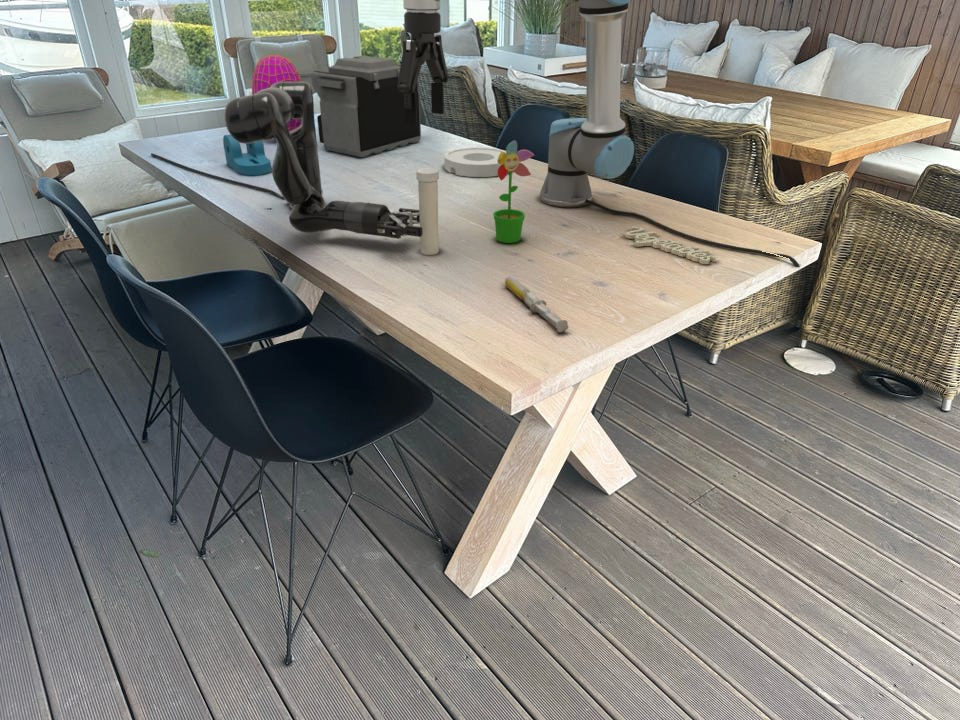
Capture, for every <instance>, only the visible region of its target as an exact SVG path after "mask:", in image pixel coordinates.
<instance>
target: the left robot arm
mask: <svg viewBox="0 0 960 720" xmlns="http://www.w3.org/2000/svg"><path fill="white" fill-rule="evenodd" d="M223 115H224V116H223V117H224V123H225V127H226V129H227V132H228V133H229V135H230V134H231V136H232V137H233V138H234V139H235V140H236V141H238V142H240V144H244V145H246V144H250V143H255V142H260V141H263V142H265V141H270V140H275V139H276V140H275V141H276V150H275V155H274V158H273V162H272V165H271V175H272V178H273V182H274V184H275V185H276V187H277V189H278V191H279V193H280V194H281V195H280V194H278V193H277V192H276V191H274V190H272V189H268V188H266V187H261V186H257V185H254V184H253V185H252V184H250V183H245V182H241V181H237V180H233V179H230V178H226V177H222V176H219V175H214V174H212V173H207V172H204V171H201V170H198V169H195V168H193V167H189V166H186V165H183V164H181V163H178V162H176V161H173V160H170V159H168V158H165V157H164V156H160V155H158V154H155V153H151V154H150V156H152V157H155V158H156V159H159V160H162V161H164V162H167V163H169V164H172V165H175V166H177V167H179V168H182V169H184V170H188V171H190V172H193V173H196V174H200V175H203V176H206V177H210V178H212V179H216V180H219V181H224V182H228V183H231V184H235V185H238V186H243V187H246V188H249V189H254V190H258V191H262V192H267V193H270V194H272V195H274V196H275V197H277V198H279V199H281V200H285V202H286V203H288V205H289V208H290V209H291V211H290V213H289V216H288V222H289V223H290V225H291V226H292V228H294V229H295V230H296V231H298V232H301V233H305V234H306V233H307V234H312V233H320V232H326V231H331V230H338V231H346V232H351V233H355V234H363V235H370V236H375V237H376V236H377V237H387V238H392V239H397V240H400V239H401V238H402V237H406V236H411V237H417V238H420V237H421V236H422V235H423V230H422V227H420V226H416V225H420V220H419V209H415V208H404V207H400V208H398V211H393V212H391V211H390V209H389V207H388V206H387V205H385V204H382V203H381V204H380V203H372V202H371V203H370V202H362V201H344V200H331V201H329V202H328V203H327V204H326V201H325V199H324V196H323V195H324V189H323V187H322V179H321V168H320V159H319V151H318V144H317V143H318V142H317V133H316V123H315V122H316V121H315V106H314V93H313V89H312V85H311V84H310V83H309V82H307V81H302V82H277V83H274V84H273V85H272V86H271V87H270V88H266V89H263V90H261V91H259V92H257V93H255V94H253V95H252V94H249V95H245V96H239V97H235V98H232V99H230V100H229V101H228V102H227V103H226V105H225V108H224V114H223ZM292 119H301V120H302V124H301V125H300V126H298V127H297V128H295V129H293V130H290V131H289V130H288V127H287V124H289V123H290V122H291V120H292ZM273 138H275V139H273Z"/></svg>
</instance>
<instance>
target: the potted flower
mask: <svg viewBox="0 0 960 720" xmlns="http://www.w3.org/2000/svg"><path fill="white" fill-rule="evenodd" d="M505 151H506V153H507V154H506V153H505V152H501V153H500V155H499V157H498V160H497V162H498V163H499V164H502V165H501V166H500V167H499V168H498V176H497V177H498V178H499V180H500V181H501V182H502V181H503V180H504V179H505V178H506V177H507V175H508V193H502V194H501V195H499V196H498V199H500V201H502V202H507V208H503V209H499V210H496V211H494V212H493V220H494V227H495V228H494V229H495V238H496V241H498V242H500V243H504V244H515V243H518V242H520V240H521V237H522V232H523V225H524V221H525V217H526V214H525V212H523V211H521V210H518V209H512V208H511V207H512V193H514V192H516V191H517V189H518V188H519V186H518V185H512V184H513V183H512V181H513V177H512V176H513V172H514V173H515V174H516V175H517V176H519V177H529V176H531V175H532V174H531V172H530V170H529V168H528V167H527V166H526V165H525V164H524V163H522V162H525V161H527V160H529V159H531V158H532V157H534V156H535V154H534V152H532V151H531V150H528V149H520V150H518V142H517V140H516V139H514V140H512V141H511V142H509V143H508V144H507V146H506V147H505ZM508 171H509V173H508Z"/></svg>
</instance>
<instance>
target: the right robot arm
mask: <svg viewBox="0 0 960 720" xmlns="http://www.w3.org/2000/svg"><path fill="white" fill-rule="evenodd" d="M573 1H574V2H578V6H579V7H578V9H579V15H580V16H581V17H582V18H583V19H584V20H585V76H586V77H585V78H586V79H585V80H586V81H585V82H586V83H585V84H586V91H585V92H586V95H585V96H586V117H573V118H571V117H570V118H562V119H556V120H554V121H553V122H552V123H551V124H550V129H549V130H550V131H549V134H548V137H549V138H548V156H547V158H548V159H547V173H546V176H545V178H544V181H543V184H542V187H541V189H540V192H539V200H540V202H542V203H543V204H546V205H549V206H553V207H558V208H559V207H560V208H580V207H584V206H588V205H592V206H595V207H597V208H599V209H602V210H603V211H606V212H609V213H612V214H617V215H623V216H630V217H635V218H637V219H642V220H644V221H646V222H649V223H651V224H652V225H654V226H656V227H658V228H661V229H663V230H665V231H667V232H669V233H672V234H675V235H678V236H680V237H683V238H686V239H689V240H691V241H695V242H699V243H702V244H706V245H709V246H714V247H718V248H719V247H720V248H724V249H729V250H734V251H739V252H745V253H752V254H758V255H762V256H767V257H771V258H780V259H786V258H789V259H790V260H789V262H791V263H792V264H793V265H794V267H795V268H800V267H801V266H800V264H799V262H798V261H797V260H796V259H795V258H794V257H792V256H791V255H788V254H784V253H777V252H776V253H775V252H773V253H774V254H777V255H780V256H783V257H786V258H783V257H779V256H776V255H774V254H770V253H771V252H770V253H766V252H767V251H766V252H762V251H763V250H761V249H755V248H747V247H741V246H736V245H730V244H726V243H721V242H716V241H712V240H708V239H704V238H700V237H697V236H693V235H691V234H687V233H685V232H682V231H679V230H677V229H674V228H672V227H669V226H667V225H665V224H662V223H660V222H658V221H655V220H654V219H651V218H650V217H648V216H645V215H643V214H640V213H636V212H630V211H623V210H616V209H612V208H609V207H607V206H605V205H603V204H600V203H597V202H595V201H592V199H593V193H592V188H591V184H590V179H589V174H591V175H593V176H595V177H597V178H603V179H607V180H608V179H609V180H611V179H616V178H618V177H620V176H621V175H623V174H624V173H625V172H626V171H627V169H628V167H630V165H631V163H632V160H633V158H634V155H635V144H634V142H633V140H632V138H630V137H629V136H628V135H626V122H625V121H624V120H623V119H622V118H621V70H622V68H621V65H622V19H623V17H624V15H625V14H626V13H627V12H628V10H629V3H630V2H631V1H632V0H573ZM402 4H403V9H404V10H406V11H405V12H404V13H403V23H404V24H403V26H404V31H405V33H407V34H410V39H406V38H404V39H403V41H402V53H401V55H402V56H401V61H400V65H401V66H400V73H399V79H398V85H397V89H398V91H399V92H403V95H404V120H405V124H407V125H418V122H417V92H414V90H415V87H416V83H417V80H418V81H419V77H420V72H421V69H422V67H423V66H422V65H424V64H426V67H427V69H428V71H429V75H430V76H431V79H432V82H430V96H431V97H430V99H431V102H430V103H431V114H438V115H444V114H445V105H444V103H445V100H444V99H445V98H444V97H445V96H444V95H445V94H444V93H445V92H444V84H448V81H449V78H448V77H449V73H448V69H447V63H446V57H445V53H444V48H443V42H442V41H443V39H442V38H443V37H442V35H441V34H438V33H440V32H441V30H442V25H441V24H442V23H441V22H442V21H441V13H440V12H438V11H439V10H440V9H441V0H403V3H402ZM786 260H787V259H786Z"/></svg>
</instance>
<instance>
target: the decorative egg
mask: <svg viewBox="0 0 960 720" xmlns="http://www.w3.org/2000/svg"><path fill="white" fill-rule="evenodd" d="M253 70H254V71H253V73H252V77H251V95H253V94H255V93H257V92H259V91H261V90H263V89H266V88H270V87H271V86H272V85H273V84H274V83H277V82H303V80H302V77H301V75H300V73H299V71H298V69H297V67H296V66H295V65H294V63H293V62H292V61H291V60H290V59H288V58H287V57H285V56H282V55H280V54H268V55H265V56H262V57H261V58H260V59H259V60H258V61H257V62H256V65H255V68H254V69H253ZM301 124H302V120H301V119H292V120H291V122H290V123H289V124H287V127H288V130H289V131H290V130H293V129H295V128H297V127H298V126H300V125H301ZM272 140H275V141H276V139H275V138H273V139H272Z"/></svg>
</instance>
